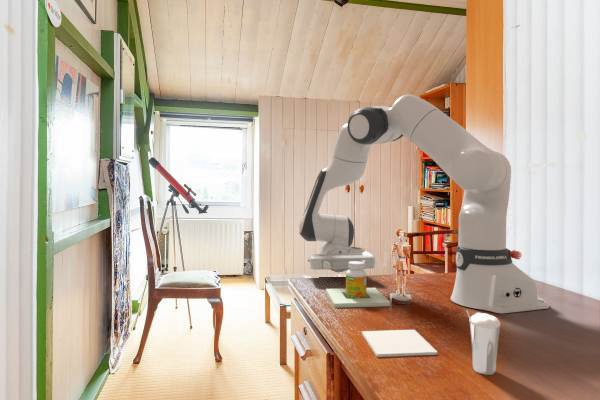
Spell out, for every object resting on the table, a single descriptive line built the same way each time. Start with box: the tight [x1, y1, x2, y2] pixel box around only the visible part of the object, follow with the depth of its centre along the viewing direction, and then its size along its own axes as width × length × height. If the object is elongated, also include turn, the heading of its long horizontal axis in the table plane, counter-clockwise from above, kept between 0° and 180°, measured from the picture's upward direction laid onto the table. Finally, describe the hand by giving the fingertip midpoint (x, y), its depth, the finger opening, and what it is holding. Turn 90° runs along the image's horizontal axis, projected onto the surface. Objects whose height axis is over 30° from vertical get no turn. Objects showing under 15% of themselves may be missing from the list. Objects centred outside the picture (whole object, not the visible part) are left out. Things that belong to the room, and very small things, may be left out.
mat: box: [361, 329, 438, 358], centre depth 76 cm, size 11×11×1 cm
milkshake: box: [465, 309, 501, 376], centre depth 65 cm, size 4×5×10 cm
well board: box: [325, 287, 391, 309], centre depth 106 cm, size 14×14×1 cm
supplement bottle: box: [345, 261, 367, 299], centre depth 106 cm, size 5×5×10 cm
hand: (346, 266), depth 118 cm, fingers open, 8 cm apart
